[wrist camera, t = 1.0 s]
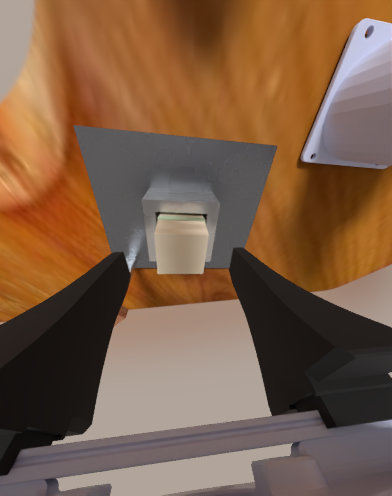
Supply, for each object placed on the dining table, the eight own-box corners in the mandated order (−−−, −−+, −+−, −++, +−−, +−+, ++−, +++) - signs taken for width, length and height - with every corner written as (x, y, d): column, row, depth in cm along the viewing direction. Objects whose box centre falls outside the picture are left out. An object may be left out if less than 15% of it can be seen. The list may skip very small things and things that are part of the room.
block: (199, 203, 15) (209, 234, 10) (196, 234, 17) (203, 274, 12) (162, 201, 14) (153, 233, 9) (164, 234, 16) (157, 274, 11)
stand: (271, 145, 14) (389, 149, 6) (236, 263, 22) (266, 330, 14) (80, 126, 12) (-107, 96, 4) (118, 262, 20) (79, 338, 12)
